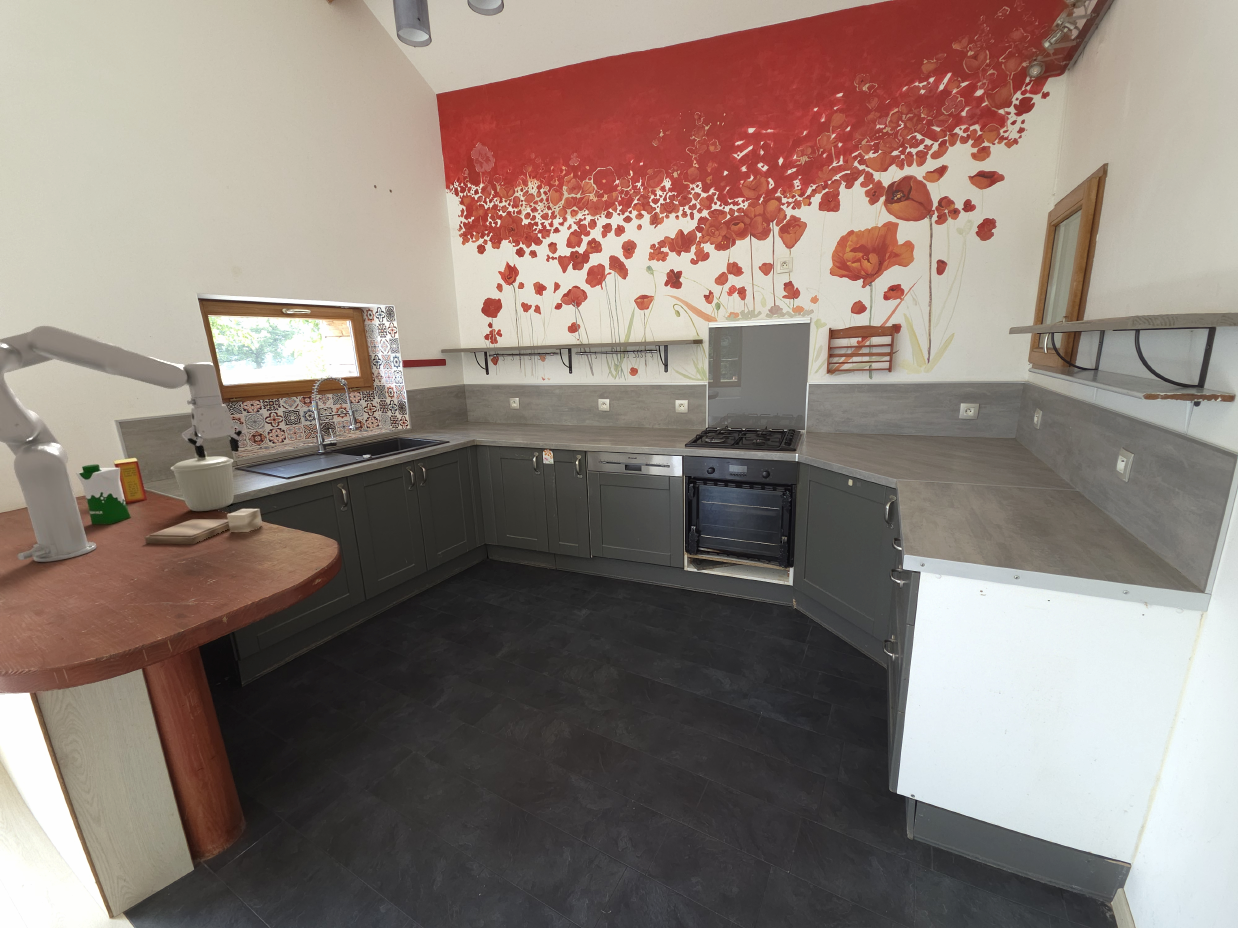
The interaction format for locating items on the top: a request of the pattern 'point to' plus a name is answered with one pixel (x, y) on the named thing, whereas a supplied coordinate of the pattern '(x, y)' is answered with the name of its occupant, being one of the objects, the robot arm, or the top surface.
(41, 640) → the top surface
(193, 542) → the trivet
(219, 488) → the canister
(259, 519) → the cube
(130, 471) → the baking soda box
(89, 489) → the milk carton
